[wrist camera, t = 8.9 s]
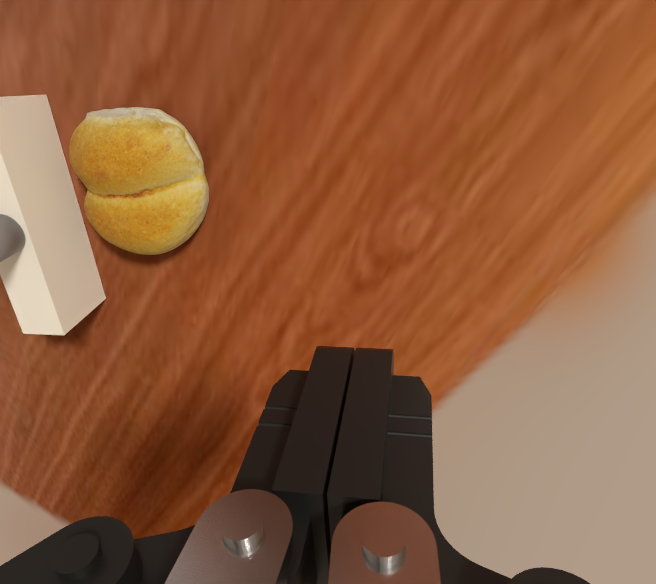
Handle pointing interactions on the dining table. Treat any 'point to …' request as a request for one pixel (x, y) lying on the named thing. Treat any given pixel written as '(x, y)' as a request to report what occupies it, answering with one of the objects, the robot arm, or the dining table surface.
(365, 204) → the dining table surface
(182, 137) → the bread roll
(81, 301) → the bench stop
